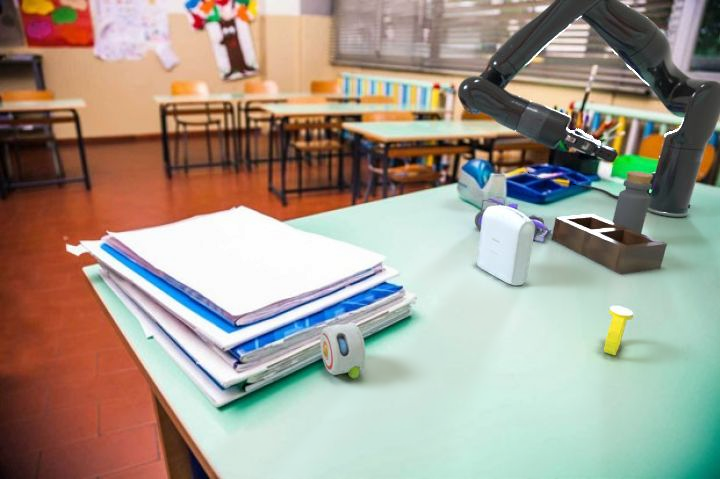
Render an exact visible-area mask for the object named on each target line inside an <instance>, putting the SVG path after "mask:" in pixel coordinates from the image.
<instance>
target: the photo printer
mask: <svg viewBox="0 0 720 479" xmlns="http://www.w3.org/2000/svg"><path fill="white" fill-rule="evenodd" d="M479 231H480V233H479V242H478V248H477V258H476V265H477V266H478V268H480V269H482V270H483V271H485V272H486V273H489V274H490V275H492V276H494V277H495V278H497V279H499V280H501V281H502V282H505V283H506V284H508V285H512V286H521V285H524V284H525V282H526V281H527V280H528V274H529V268H530V262H531V257H532V250H533V243H534V238H535V236H534V232H535V226H534V223H533V222H532V221H531V220H530V219H529V217H528V216H527V215H526V214H525V213H524V212H522V211H520V210H518V209H517V210H516V209H514V208H511V207H508V205H506V206H502V205H496V206H490V207H488V208H487V209H486V210H485V211H484V213H483V216H482V224H481V230H479Z"/></svg>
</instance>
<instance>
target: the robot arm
mask: <svg viewBox="0 0 720 479" xmlns="http://www.w3.org/2000/svg"><path fill="white" fill-rule="evenodd" d="M579 18H580V19H581V20H583V21H584V22H585V23H586V24H587V25H589V26H590V27H591V28H592V29H593V31H594V32H595V33H596V34H597V35H598V36H599V37H600V38H601V39H602V41H603V42H604V43H605V44H606V45H607V46H608V47H609V48H610V49H611V50H612V51H613V52H614V54H616V55H617V57H618V58H619V59H620V60H621V61H622V62H623V63H624V64H625V65H626V66H627V67H628V68H629V69H630V70H632V71H633V72H634V73H635V74H636V75H637V76H638V77H639V78H640V79H641V80H642V81H643V82H644V83H645V84H646V85H647V86H649V88H650V89H651V90H652V91H653V92H654V94H655V95H656V97H657V98H658V99H659V100H660V102H661V103H662V105H663V106H664V107H665V108H666V110H667V111H668V112H669V113H670V114H671V115H673V116H675V117H678V118H683V119H682V123H681V125H680V126H679V128H677V129H675V130H673V131H669V132H667V133H665V134H664V137H663V140H662V145H661V148H660V152H659V155H658V160H657V163H656V166H655V167H656V168H655V172H651V173H650V174H651V175H653V177H652V179H651V181H650V183H651V184H652V185H651V189H649V190H647V194H649V196H650V201H649V205H648V209H647V212H650V213H653V214H655V215H658V216H659V215H660V216H663V217H671V218H684V217H687V215H688V211H689V210H690V209H691V206H692V205H691V201H692V197H693V194H694V190H695V186H696V182H697V179H698V175H699V172H700V168H701V165H702V162H703V159H704V155H705V150H706V147H707V144H708V143H709V141H710V140H711V138H712V137H713V135H714V133H715V131H716V128H717V125H718V121H719V119H720V81H718V80H713V79H700V78H694V77H693V78H692V77H690V76H688V75H687V74H686V73H684V72H683V71H682V70H681V69H680V68H679V67H678V66H677V65H676V64H675V62H674V61H673V54H672V45H671V42H670V40H669V38H668V37H667V35H665V33H664V32H663V31H662V30H661V28H659V27H658V25H657V24H656V23H655V22H654V21H652V20H651V19H650V18H648V17H647V16H646V15H645V14H643V13H642V12H640V11H638V10H636V9H634V8H633V7H631V6H629V5H628V4H625V3H624V2H622V1H621V0H554V1H553V2H552V3H550V5H549V6H548V7H546V8H545V9H543V11H541V12H540V13H539V14H538V15H537V16H535V17H534V18H533V19H531V20H530V21H528V22H527V23H526V24H525V25H524V24H523V26H521V27H520V28H519V29H518V30H517V31H515V32H514V33H513V34H512V35H511V36H509V37H508V39H506V40H505V41H504V42H503V43H502V44H501V46H499V47H498V49H497V50H496V51H495V52H494V53H493V54H492V55H491V56H490V58H489V59H488V61H487V63H486V66H485V69H484V70H483V71H482V72H481V73H480V74H479V76H478V75H471V76H468V77H466V78H464V79H463V80H462V81H461V82H460V83H459V86H458V89H457V97H458V100H459V102H460V104H461V106H462V108H463V109H464V110H465V112H467V113H469V114H472V115H479V114H484V115H486V116H488V117H490V118H492V119H493V120H494V121H495V122H496V123H498V124H499V125H501V126H503V127H505V128H507V129H509V130H512V131H515V132H516V133H518V134H520V135H522V136H523V137H524V138H527V139H529V140H531V141H533V142H535V143H537V144H540V145H542V146H544V147H546V148H549V149H551V150H554V149H556V148H557V147H558V146H559V143H560V142H561V141H562V143H563V144H564V145H566V147H567V148H568V149H571V150H576V151H577V152H579V153H582V154H586V155H589V156H593V157H597V158H599V159H602V160H604V161H607V162H609V163H614V162H615V161H616V159H617V158H618V155H619V154H618V150H617V149H615V148H612V147H610V146H608V145H606V144H603V143H601V141H600V140H597V139H596V138H595V137H594V136H592V135H589V134H587V133H585V131H583V130H581V129H579V128H578V129H577V128H576V129H575V130H570V129H569V128H568V127H569V125H570V123H571V121H572V117H571V116H570V115H567V114H565V113H563V112H560V111H558V110H556V109H554V108H551V107H549V106H546V105H544V104H541V103H538V102H534V101H531V100H529V99H527V98H524V97H522V96H520V95H517V94H515V93H512V92H509V91H508V90H506V87H507V86H508V84H510V82H511V81H512V80H513V79H515V78H516V77H517V76H518V75H519V74H520V73H521V72H522V71H523V70H524V68H526V66H527V65H529V64H530V63H531V62H532V61H533V59H534V58H535V57H536V56H538V54H539V53H540V52H541V51H542V50H544V48H546V47H547V46H548V45H549V44H550V43H551V42H552V41H553V40H554V39H555V38H557V37H558V36H559V35H560V34H562V32H564V31H565V30H566V29H567V28H568V27H570V26H572V24H573V23H575V22H576V21H577V20H578V19H579ZM580 188H585V189H590V190H594V191H597V192H601V193H604V194H606V195H608V196H609V197H611V198H613V199H617V200H618V197H619V195H615V194H613V193H611V192H609V191H607V190H605V189H603V188H599V187H595V186H591V185H587V184H583V186H581V187H580Z"/></svg>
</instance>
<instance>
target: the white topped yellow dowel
mask: <svg viewBox="0 0 720 479" xmlns="http://www.w3.org/2000/svg"><path fill="white" fill-rule="evenodd" d="M608 310H609V311H608V314H609V315H610V316H612V318H611V322H610V324H609V328H608V330H607V334H606V338H605V342H604V347H603V352H604V353H606V354H609V355H612V356H616V354H617V352H618V350H619V348H620V345H621V342H622V339H623V335H624V332H625V328H626V324H627V321H630V320H632V319H633V317H634V312H633V311H632V310H631V309H629V308H627V307H624V306H621V305H612V306H609V309H608Z"/></svg>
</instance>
